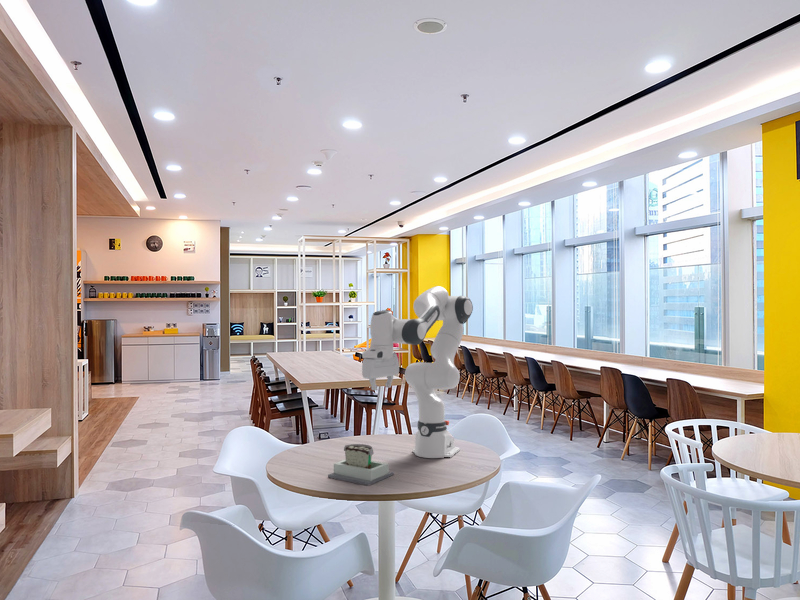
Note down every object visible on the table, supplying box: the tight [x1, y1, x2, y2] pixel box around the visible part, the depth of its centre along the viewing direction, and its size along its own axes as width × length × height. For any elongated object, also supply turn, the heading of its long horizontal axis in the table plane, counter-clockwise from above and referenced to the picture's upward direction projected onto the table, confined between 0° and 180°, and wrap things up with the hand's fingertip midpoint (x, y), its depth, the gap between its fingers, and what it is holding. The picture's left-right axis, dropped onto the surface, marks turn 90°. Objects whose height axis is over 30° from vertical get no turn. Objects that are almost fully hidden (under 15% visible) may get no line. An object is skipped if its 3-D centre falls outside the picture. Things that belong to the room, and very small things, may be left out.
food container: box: [343, 443, 375, 469], centre depth 199 cm, size 12×6×10 cm, turn 56°
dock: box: [327, 459, 394, 487], centre depth 199 cm, size 16×18×4 cm
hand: (381, 388), depth 207 cm, fingers open, 8 cm apart
